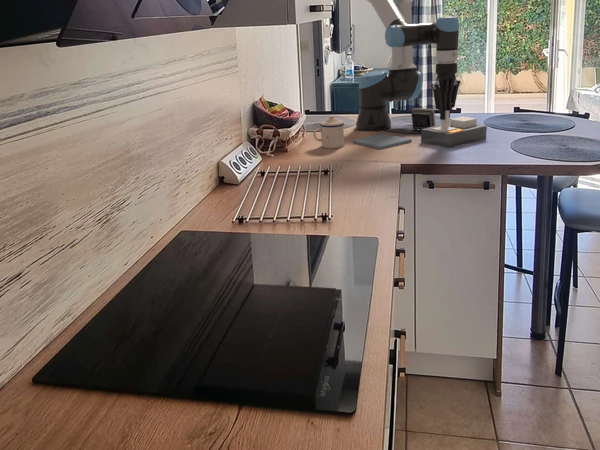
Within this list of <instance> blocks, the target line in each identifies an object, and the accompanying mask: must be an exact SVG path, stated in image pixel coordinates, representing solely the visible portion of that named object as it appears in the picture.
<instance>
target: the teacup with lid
mask: <svg viewBox="0 0 600 450" xmlns="http://www.w3.org/2000/svg"><path fill="white" fill-rule="evenodd" d="M344 122H345V121H343V120H341V119H339V118H336V117H335V115H329V116H328V118H327V119H325V120H323V121H321V122H320V127H319V128H316V129H314V130H313V134H312V135H313V139H315V140H316V142H321V147H322V148H324V149H339V148H342V147H343V146H345V131H344V126H345V123H344ZM318 131H320V134H321V135H320V136H321V137H320V138H317V136H316V133H317V132H318Z"/></svg>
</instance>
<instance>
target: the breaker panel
mask: <svg viewBox="0 0 600 450" xmlns="http://www.w3.org/2000/svg"><path fill="white" fill-rule="evenodd" d="M437 127H441V124H439V125H435V126H434V127H429V128H425V129H421V137H420V139H421V140H420V142H421V143H423V144H427V145H432V146H437V147H442V148H446V149H450V148H455V147H459V146H463V145H466V144H471V143H475V142H479V141H483V140H487V130H488V125H485V124H478V123H476V126H472V127H468V128H459V127H454V128H458V129H457V130H452V131H448V132H446V133H444V132H439V131H433V130H431V129H432V128H437ZM449 127H453V126H450V122H449Z"/></svg>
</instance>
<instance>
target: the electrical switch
mask: <svg viewBox="0 0 600 450" xmlns="http://www.w3.org/2000/svg"><path fill="white" fill-rule="evenodd" d="M410 116H411V122H412V130H413V129H425V128H429V127H434V126H436V117H435V109H434V108H420V107H412V109H411V114H410Z"/></svg>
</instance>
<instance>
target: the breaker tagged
mask: <svg viewBox="0 0 600 450" xmlns="http://www.w3.org/2000/svg"><path fill="white" fill-rule="evenodd" d="M457 129H458V128H454V127H449V128H447V129H445V128H441V127H437V128H432V129H431V130H433V131H439V132H444V133H446V132H448V131H452V130H457Z"/></svg>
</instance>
